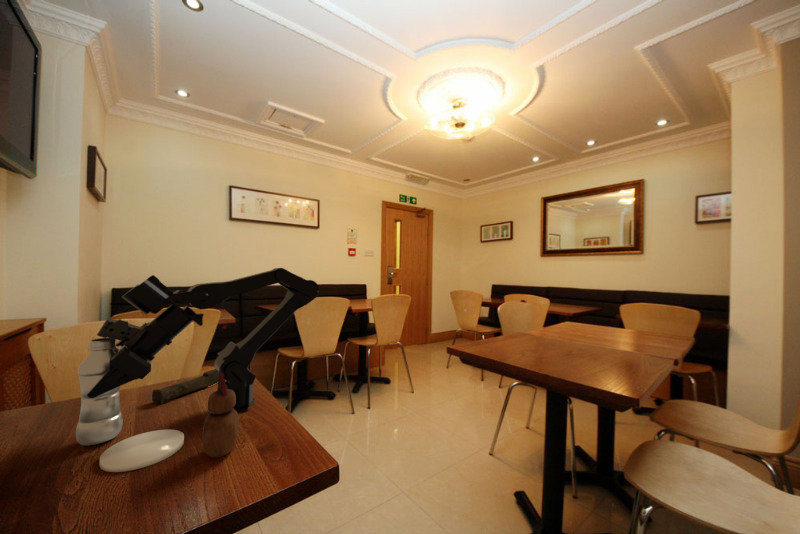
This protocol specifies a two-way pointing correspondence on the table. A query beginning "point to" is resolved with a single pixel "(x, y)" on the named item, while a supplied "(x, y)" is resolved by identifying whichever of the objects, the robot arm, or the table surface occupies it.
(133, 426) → the table surface
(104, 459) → the saucer
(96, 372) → the plastic bottle
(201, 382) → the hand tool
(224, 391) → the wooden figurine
